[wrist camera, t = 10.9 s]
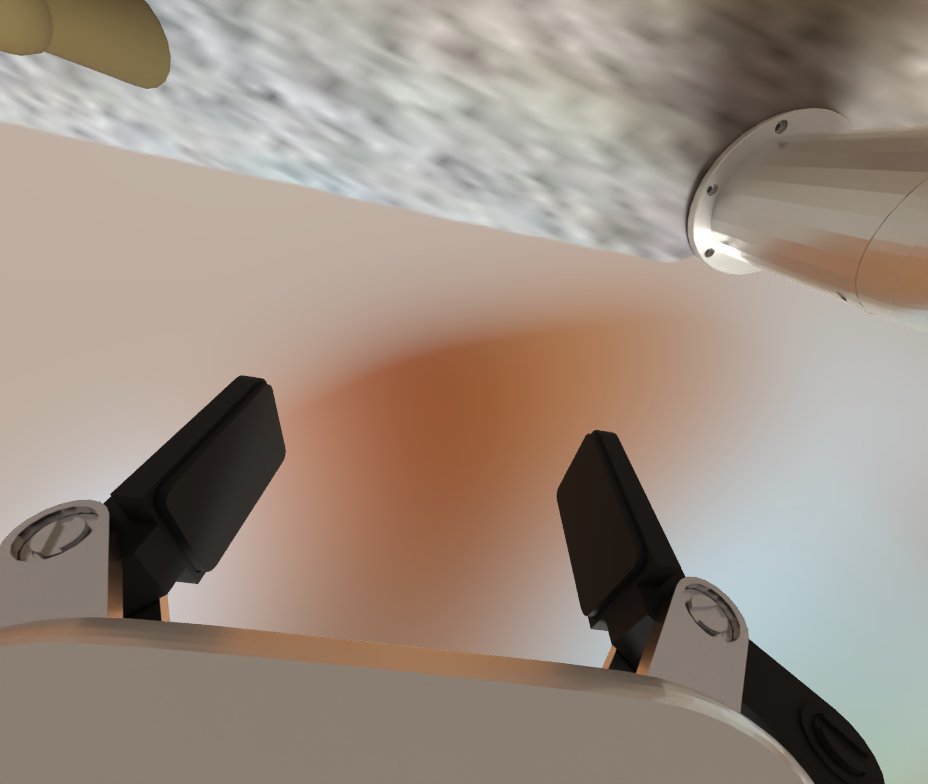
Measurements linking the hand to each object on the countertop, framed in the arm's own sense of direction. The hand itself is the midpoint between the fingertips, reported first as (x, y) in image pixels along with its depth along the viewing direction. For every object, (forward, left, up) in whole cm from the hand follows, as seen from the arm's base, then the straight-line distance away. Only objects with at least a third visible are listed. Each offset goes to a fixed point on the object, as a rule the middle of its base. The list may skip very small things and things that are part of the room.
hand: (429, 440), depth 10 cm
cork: (+28, -10, -28) cm, 41 cm away
